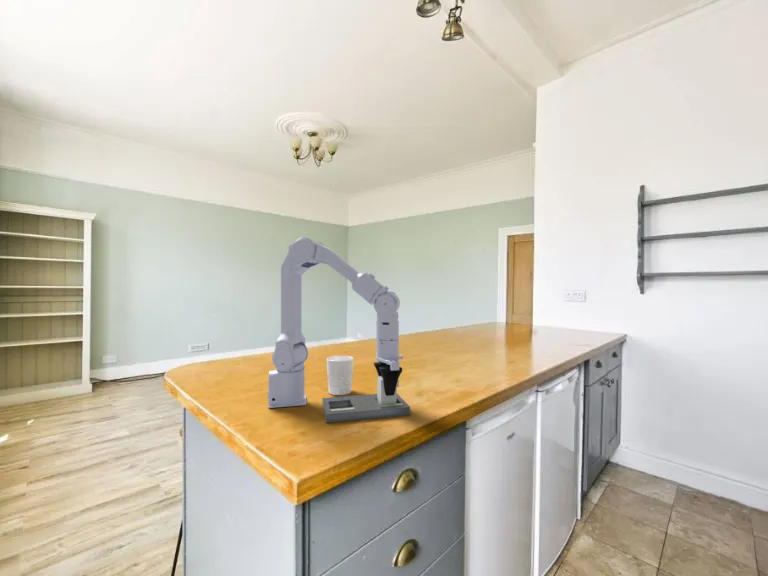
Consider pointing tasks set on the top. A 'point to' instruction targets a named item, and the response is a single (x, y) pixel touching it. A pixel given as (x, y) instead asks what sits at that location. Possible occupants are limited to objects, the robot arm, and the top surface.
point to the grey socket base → (361, 408)
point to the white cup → (340, 374)
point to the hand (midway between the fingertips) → (387, 392)
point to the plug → (381, 393)
